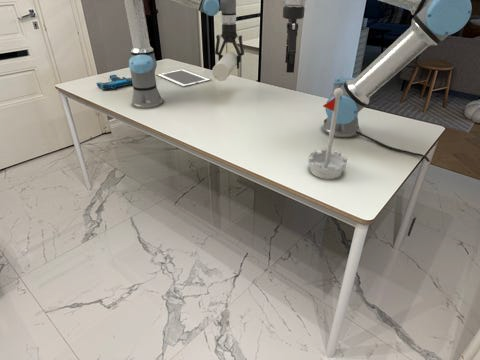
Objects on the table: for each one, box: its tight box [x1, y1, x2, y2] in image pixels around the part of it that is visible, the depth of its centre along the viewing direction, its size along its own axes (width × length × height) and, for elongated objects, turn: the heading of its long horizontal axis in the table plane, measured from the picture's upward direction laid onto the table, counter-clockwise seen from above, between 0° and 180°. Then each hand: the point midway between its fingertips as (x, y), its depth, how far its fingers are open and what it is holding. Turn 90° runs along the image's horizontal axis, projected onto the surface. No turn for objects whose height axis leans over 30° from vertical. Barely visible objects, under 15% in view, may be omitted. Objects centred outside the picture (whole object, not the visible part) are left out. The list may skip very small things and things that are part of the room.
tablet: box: [156, 68, 212, 88], centre depth 217 cm, size 32×20×1 cm, turn 41°
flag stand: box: [307, 88, 348, 180], centre depth 113 cm, size 13×13×30 cm
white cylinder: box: [211, 51, 238, 82], centre depth 178 cm, size 26×8×8 cm, turn 170°
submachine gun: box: [95, 74, 133, 91], centre depth 209 cm, size 34×4×25 cm
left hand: (229, 67), depth 189 cm, fingers closed on white cylinder, 8 cm apart
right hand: (289, 67), depth 131 cm, fingers open, 13 cm apart
